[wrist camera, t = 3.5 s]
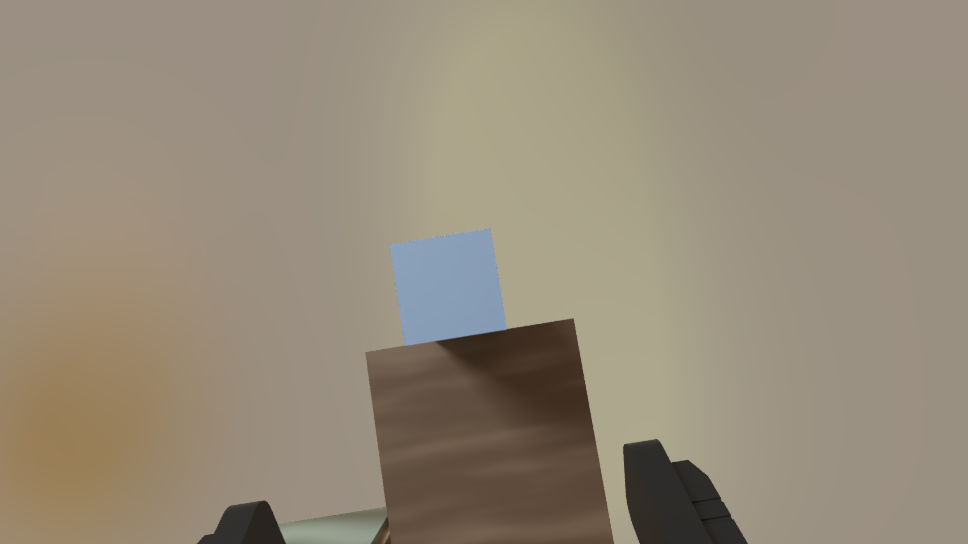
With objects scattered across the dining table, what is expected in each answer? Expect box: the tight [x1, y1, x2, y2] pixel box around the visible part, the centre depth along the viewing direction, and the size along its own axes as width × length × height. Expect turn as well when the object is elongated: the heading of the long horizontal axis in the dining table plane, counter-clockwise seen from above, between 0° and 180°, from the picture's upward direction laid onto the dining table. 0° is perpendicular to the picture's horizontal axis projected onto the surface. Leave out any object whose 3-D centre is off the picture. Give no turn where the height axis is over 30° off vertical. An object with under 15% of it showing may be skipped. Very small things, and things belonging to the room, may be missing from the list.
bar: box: [390, 228, 507, 346], centre depth 33 cm, size 24×4×4 cm, turn 178°
